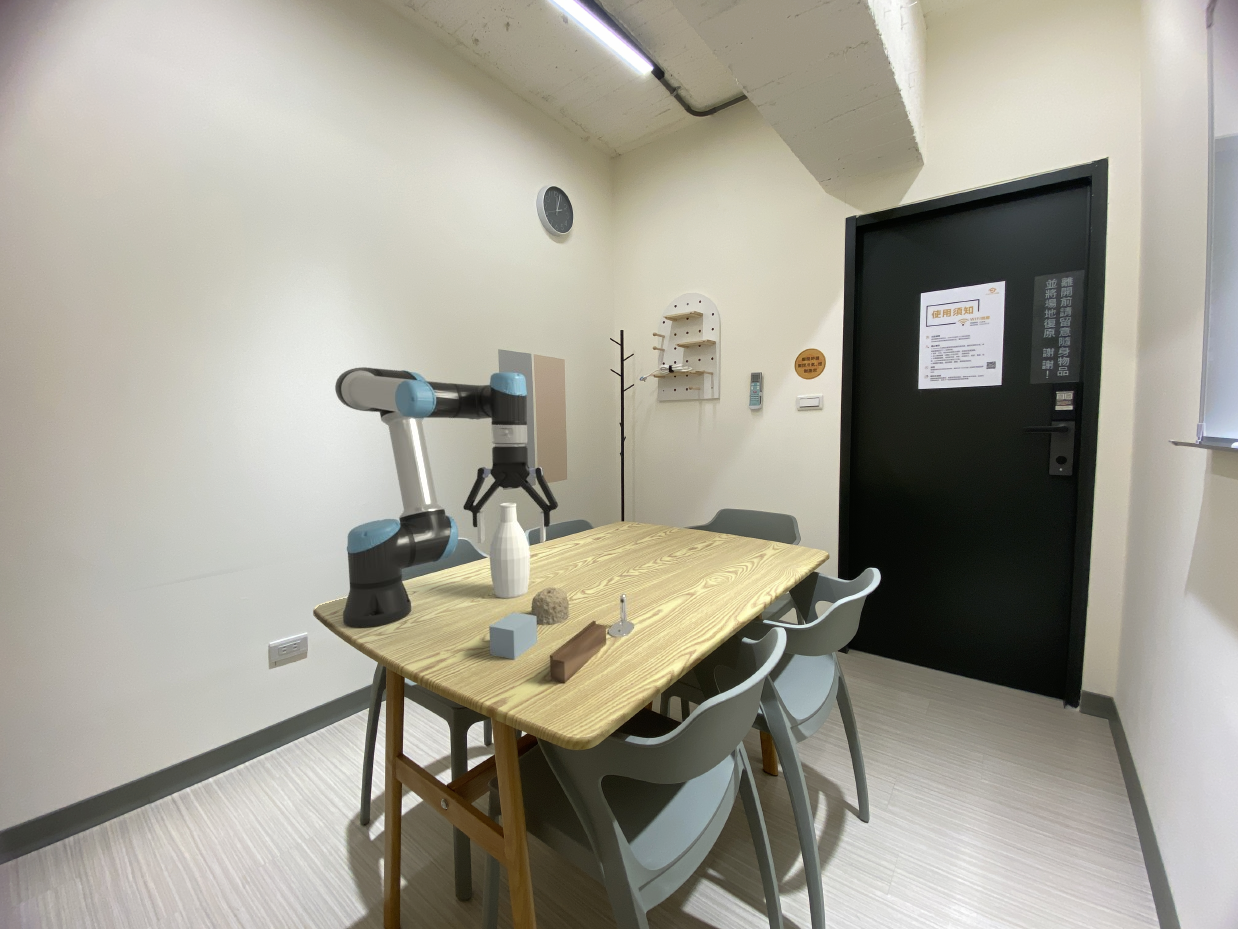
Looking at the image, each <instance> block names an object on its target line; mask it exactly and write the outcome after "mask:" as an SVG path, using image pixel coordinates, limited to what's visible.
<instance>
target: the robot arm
mask: <svg viewBox="0 0 1238 929" xmlns="http://www.w3.org/2000/svg"><path fill="white" fill-rule="evenodd" d="M489 378H490V379H489V381H490V382H489V384H483V385H482V384H481V385H480V384H478V385H477V384H465V383H464V384H463V383H451V382H449V383H448V382H439V381H429V380H427V379H426V378H425V377H424V376H423V375H422V374H420V373H417V372H414V371H413V372H412V371H408V370H405V369H404V370H403V369H402V370H396V369H385V368H375V367H366V366H365V367H364V366H363V367H355V368H354V367H353V368H351V369H348V370H346V371H345V370H344V372H342V373H341V374H340V375H339V376H338V377H337V379H336V382H335V386H334V390H335V394H336V397H337V398H338V400H339V401H340V402H341V403H342V404H343V405H345V406H346V407H348V408H350V409H353V410H356V411H361V412H370V413H371V412H372V413H379V414H380V415H379V416H380V421H381V422H382V423H384V424H385V425H387V427H388V430H389V436H390V441H391V447H392V451H393V458H394V464H395V470H396V475H397V479H398V485H399V491H400V495H401V501H402V507H403V511H402V513H401V514H400V515H399V517H398V519H399V520H398V519H395V518H386V519H378V520H373V521H368V522H365V523H363V524H359V525H357V526H355V527H354V528H352V529H351V530H350V531H349V532H348V534H347V546H346V552H347V562H348V577H349V580H348V581H349V592H348V595H347V599H346V603H345V607H344V610H343V613H342V618H343V620H342V621H343V624H344V625H345V626H347V627H351V628H371V627H378V626H384V625H387V624H391V623H395V622H397V621H399V620H401V619H404V618H405V617H407V616H409V615H410V613H411V611H412V602H411V599H410V597H409V594H408V591H407V590H406V587H405V584H404V582H403V569H408V568H412V567H415V566H420V565H424V564H428V563H434V562H438V561H441V560H443V559H447V558H449V557H451V556H452V554H454V552H455V550H456V547H457V546H458V542H459V528H458V525H457V522H456V521H455V519H454V518H453V517H452V516H450V515H447V514H446V509H445V508H444V507H442V506H441V505H439V504H438V500H437V494H436V490H435V484H434V479H433V474H432V469H431V463H430V462H431V461H430V458H429V452H428V447H427V443H426V437H425V432H424V426H423V421H424V419H425V418H427V419H429V418H430V419H436V418H437V419H441V418H442V419H468V420H481V419H491V443H492V444H493V445H494V446H493V447H492V448H491V453H492V454H491V457H492V458H491V459H492V467H491V468H486V467H485V466H482V467H479V468H477V474H476V479H475V482H474V483H473V486H472V488H471V490H470V492H469V493H468V496H467V499H466V500H465V502H464V504H463V510H464V511H468V512H471V513H472V527H473V528H477V529H476V530H477V544H482V543H483V542H484V541H486V540H485V539H486V534H485V533H486V532H485V511H484V510H483V511H481V509H483V507H484V506H486V504H487V502H488V501H489V500H490V498H492V496H494V494H495V493H496V492H497V490H498V489H499V488H502V489H508V488H509V489H510V488H512V489H518V488H522V489H523V491H525V492H526V493H527V495H528V496H529V497H530V498H531V499H532V501H533V502H535V504H536V505H537V506H538V507H539V508H540V509H541V511H540V512H539V543H541V544H542V543H543V544H544V543H545V541H546V536H547V535H546V528H547V527H549V526H550V525H551V512H552V511H554V510H556V509H557V508H558V507H559V503H558V502H557V499H556V498H555V496H554V494H553V491H552V490H551V487H550V486H549V484H548V482H547V481H546V478H545V476H544V470H543V467H542V466H537V467H534V468H530V467H529V461H528V460H529V459H528V458H529V455H528V454H529V453H528V446H526V444H527V443H528V414H527V413H528V409H527V408H528V407H527V403H528V401H527V399H528V396H527V395H528V391H527V381H526V377H525V375H523V374H522V373H519V372H495V373H492V374H491V375H490V377H489ZM489 475H491V477H492V478H493V479H494V481H493V483H491V485H490V487H489V488H488V489H487V490H486V491H485V493H484V494H483V495H482V496H481V497H480V499H478V501H477V502H476V504H475V501H476V499H477V497H478V496H479V493H480V491H481V488H482V487H483V484H484V482H485V480H486V478H488V477H489ZM530 475H532V477H533V478H535V479H536V481H537V483H538V485H539V487H540V489H541V491H542V493H543V495H544V496H545V499H546V500H547V502H548V503H547V502H546V500H544V499H543V497H542V496H541V495H540V493H538V492H537V491H536V489H535V488H534V487H533V485H532V484H531V483H530V482H529V481H528V477H529V476H530Z"/></svg>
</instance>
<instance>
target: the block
mask: <svg viewBox="0 0 1238 929" xmlns="http://www.w3.org/2000/svg"><path fill="white" fill-rule="evenodd" d="M488 627H489V628H488V629H489V651H490V652H489V653H490V655H492V656H497V657H500V658H501V657H502V658H505V659H510V660H516V659H518V658H519V657H520V656H521V655H523V654H524V653H526V652H527V651H528V650H530V649H531V648H532V647H534V646H535V645H537V644H538V628H537V627H538V623H537V618H536V616H533V615H531V614H525V613H520V612H511V613H509V614H508V615H506V616H504V617H503V618H500V619H499V620H497V621H496V622H494V623H492V624H490V625H489V626H488Z"/></svg>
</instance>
